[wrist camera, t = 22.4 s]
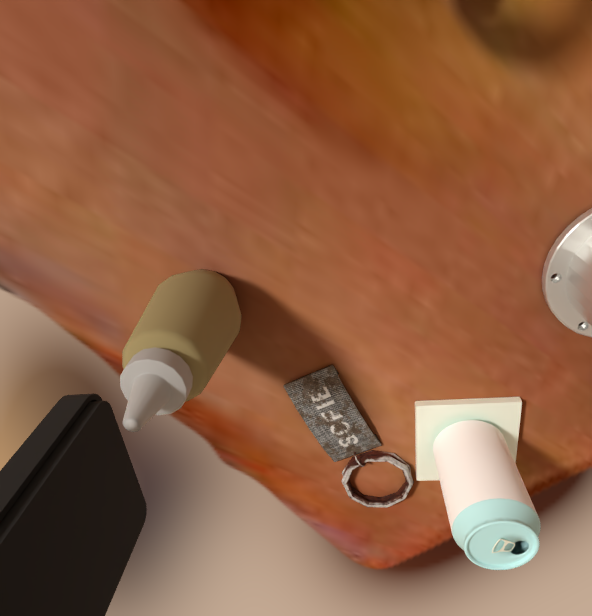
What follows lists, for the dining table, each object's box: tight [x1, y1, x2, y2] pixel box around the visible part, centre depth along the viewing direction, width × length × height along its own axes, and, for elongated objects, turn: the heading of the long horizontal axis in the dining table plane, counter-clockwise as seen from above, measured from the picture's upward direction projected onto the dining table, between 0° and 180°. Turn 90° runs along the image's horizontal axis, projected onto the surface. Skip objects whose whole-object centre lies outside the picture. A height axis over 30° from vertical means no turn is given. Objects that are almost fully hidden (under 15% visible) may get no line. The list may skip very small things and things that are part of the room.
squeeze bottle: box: [120, 269, 242, 432], centre depth 37 cm, size 8×8×18 cm
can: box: [433, 420, 540, 570], centre depth 44 cm, size 7×7×12 cm
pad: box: [415, 397, 522, 481], centre depth 50 cm, size 10×10×1 cm
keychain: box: [284, 365, 414, 507], centre depth 51 cm, size 8×19×2 cm, turn 29°
